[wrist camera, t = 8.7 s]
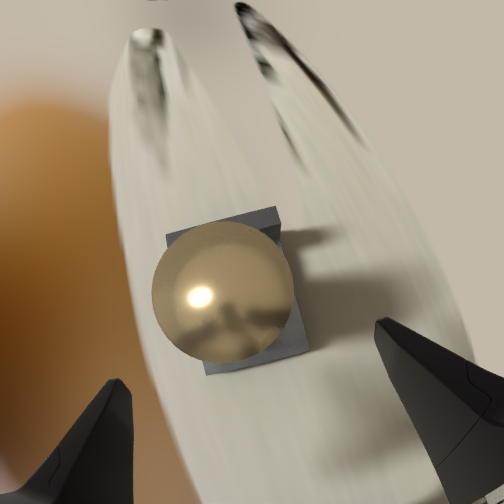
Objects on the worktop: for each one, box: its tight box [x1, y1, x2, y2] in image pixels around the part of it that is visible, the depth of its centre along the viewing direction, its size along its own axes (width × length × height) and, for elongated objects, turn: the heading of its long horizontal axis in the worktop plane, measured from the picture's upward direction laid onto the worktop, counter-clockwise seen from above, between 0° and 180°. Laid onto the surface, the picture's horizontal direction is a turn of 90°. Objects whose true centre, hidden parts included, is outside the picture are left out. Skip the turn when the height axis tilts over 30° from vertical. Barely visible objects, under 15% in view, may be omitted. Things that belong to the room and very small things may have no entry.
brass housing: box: [152, 221, 294, 363], centre depth 14 cm, size 5×5×10 cm
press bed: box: [166, 206, 310, 376], centre depth 19 cm, size 9×7×4 cm
